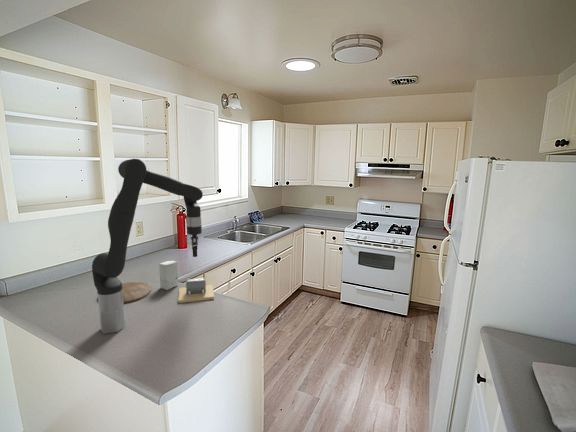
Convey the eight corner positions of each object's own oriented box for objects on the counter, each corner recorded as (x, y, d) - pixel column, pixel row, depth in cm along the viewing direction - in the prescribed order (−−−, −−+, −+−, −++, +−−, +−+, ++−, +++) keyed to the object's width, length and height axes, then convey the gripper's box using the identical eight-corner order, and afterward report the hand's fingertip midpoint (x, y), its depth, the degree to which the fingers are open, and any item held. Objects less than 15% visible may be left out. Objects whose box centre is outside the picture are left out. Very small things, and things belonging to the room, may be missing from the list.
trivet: (93, 293, 165) (93, 290, 164) (141, 281, 182) (141, 278, 182) (107, 310, 147) (106, 306, 147) (158, 294, 165) (158, 291, 165)
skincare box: (166, 290, 170) (165, 265, 167) (159, 288, 173) (158, 263, 170) (178, 285, 177) (177, 261, 175) (171, 283, 180) (170, 259, 177)
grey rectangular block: (205, 292, 165) (205, 280, 163) (186, 294, 162) (186, 282, 160) (205, 289, 168) (205, 277, 167) (186, 291, 165) (186, 279, 164)
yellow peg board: (214, 299, 160) (213, 292, 160) (178, 303, 155) (178, 295, 154) (212, 287, 176) (212, 280, 175) (179, 290, 170) (179, 283, 170)
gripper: (201, 227, 153) (202, 257, 156) (201, 221, 166) (202, 250, 169) (186, 227, 151) (187, 258, 153) (186, 222, 164) (187, 251, 167)
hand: (195, 254), depth 161 cm, fingers open, 8 cm apart
